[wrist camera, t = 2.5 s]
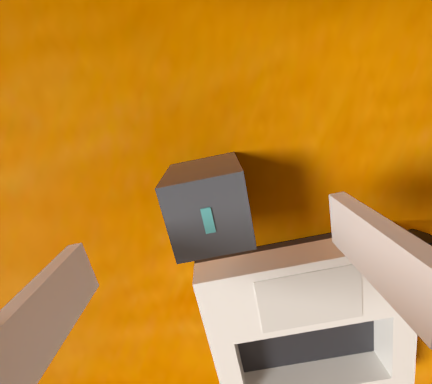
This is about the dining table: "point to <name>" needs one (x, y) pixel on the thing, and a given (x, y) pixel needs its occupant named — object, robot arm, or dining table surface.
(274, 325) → the white slotted tray
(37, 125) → the dining table surface
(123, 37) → the dining table surface
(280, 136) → the dining table surface
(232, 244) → the charger brick
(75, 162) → the dining table surface
